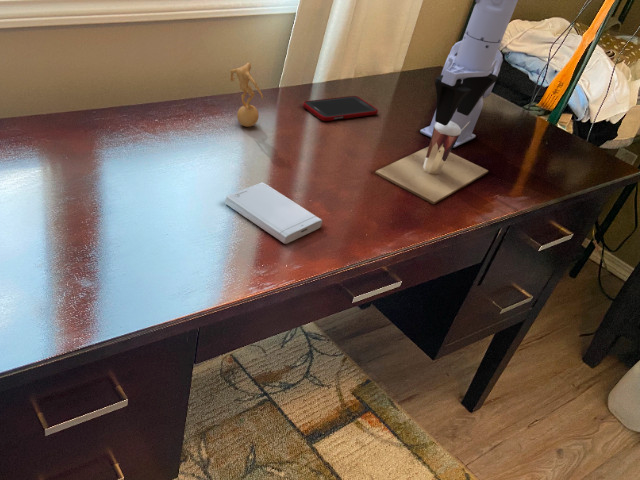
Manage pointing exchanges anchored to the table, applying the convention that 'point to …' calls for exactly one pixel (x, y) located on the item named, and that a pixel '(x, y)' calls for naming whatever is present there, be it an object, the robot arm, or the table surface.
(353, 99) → the cell phone
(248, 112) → the figurine
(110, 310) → the table surface
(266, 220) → the hard drive
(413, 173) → the desk mat
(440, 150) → the milkshake
